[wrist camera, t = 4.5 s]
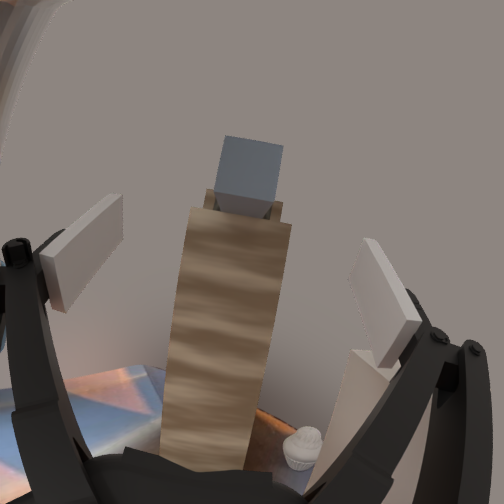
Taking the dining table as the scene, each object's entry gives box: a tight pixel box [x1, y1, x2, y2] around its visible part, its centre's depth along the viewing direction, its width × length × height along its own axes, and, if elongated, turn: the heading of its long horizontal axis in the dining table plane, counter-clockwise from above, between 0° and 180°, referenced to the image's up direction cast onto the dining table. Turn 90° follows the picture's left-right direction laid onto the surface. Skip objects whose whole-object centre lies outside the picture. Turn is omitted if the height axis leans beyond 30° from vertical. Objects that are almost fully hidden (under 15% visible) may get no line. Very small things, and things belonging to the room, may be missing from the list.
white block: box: [304, 349, 492, 504], centre depth 19 cm, size 10×8×22 cm
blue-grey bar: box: [214, 136, 283, 219], centre depth 32 cm, size 24×4×4 cm, turn 2°
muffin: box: [283, 426, 323, 471], centre depth 36 cm, size 6×6×7 cm
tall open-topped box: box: [160, 189, 292, 472], centre depth 38 cm, size 16×10×35 cm, turn 2°
